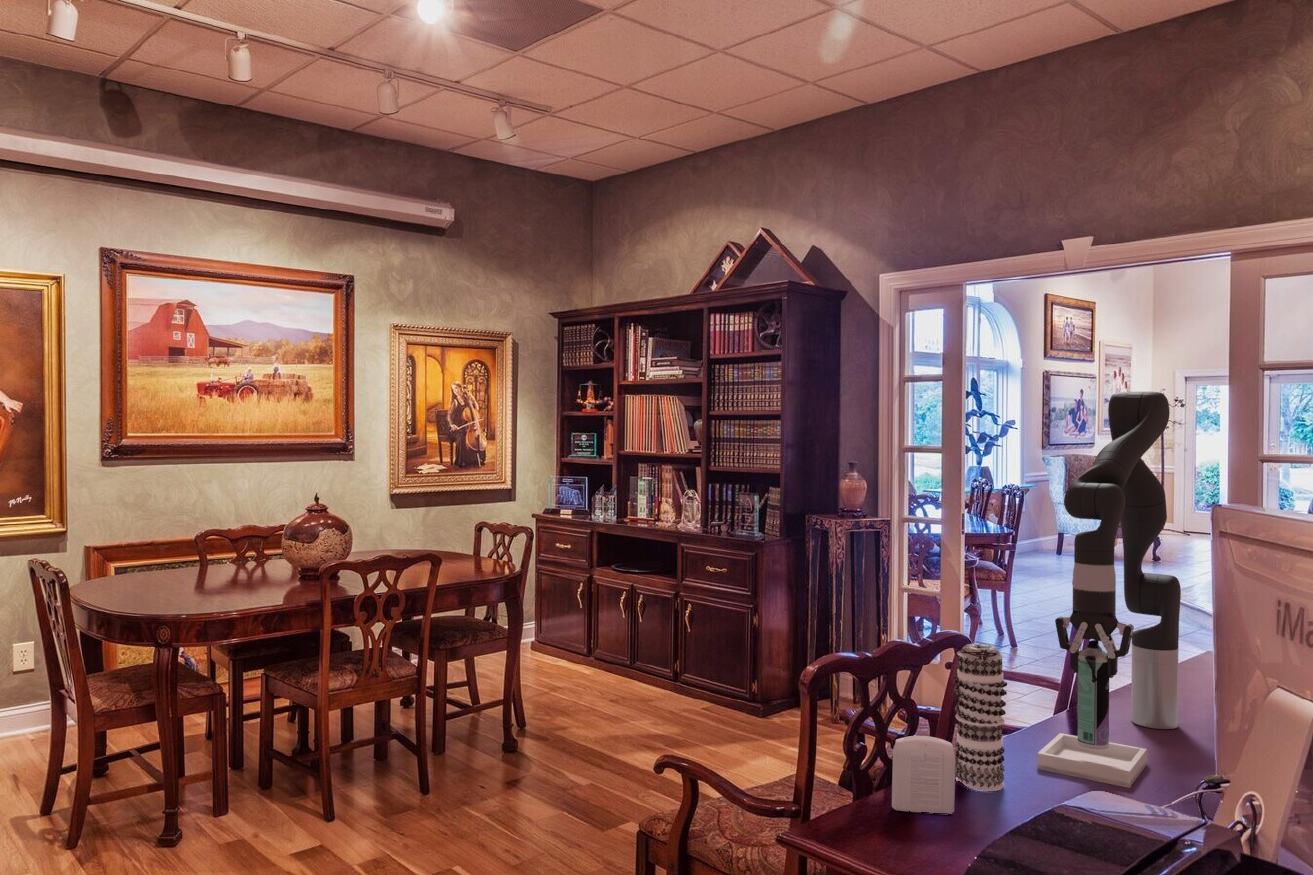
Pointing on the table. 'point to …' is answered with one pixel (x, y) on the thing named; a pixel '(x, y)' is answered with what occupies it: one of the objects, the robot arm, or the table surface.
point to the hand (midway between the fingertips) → (1093, 674)
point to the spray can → (1093, 697)
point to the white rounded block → (923, 775)
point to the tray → (1093, 761)
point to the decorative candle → (980, 717)
